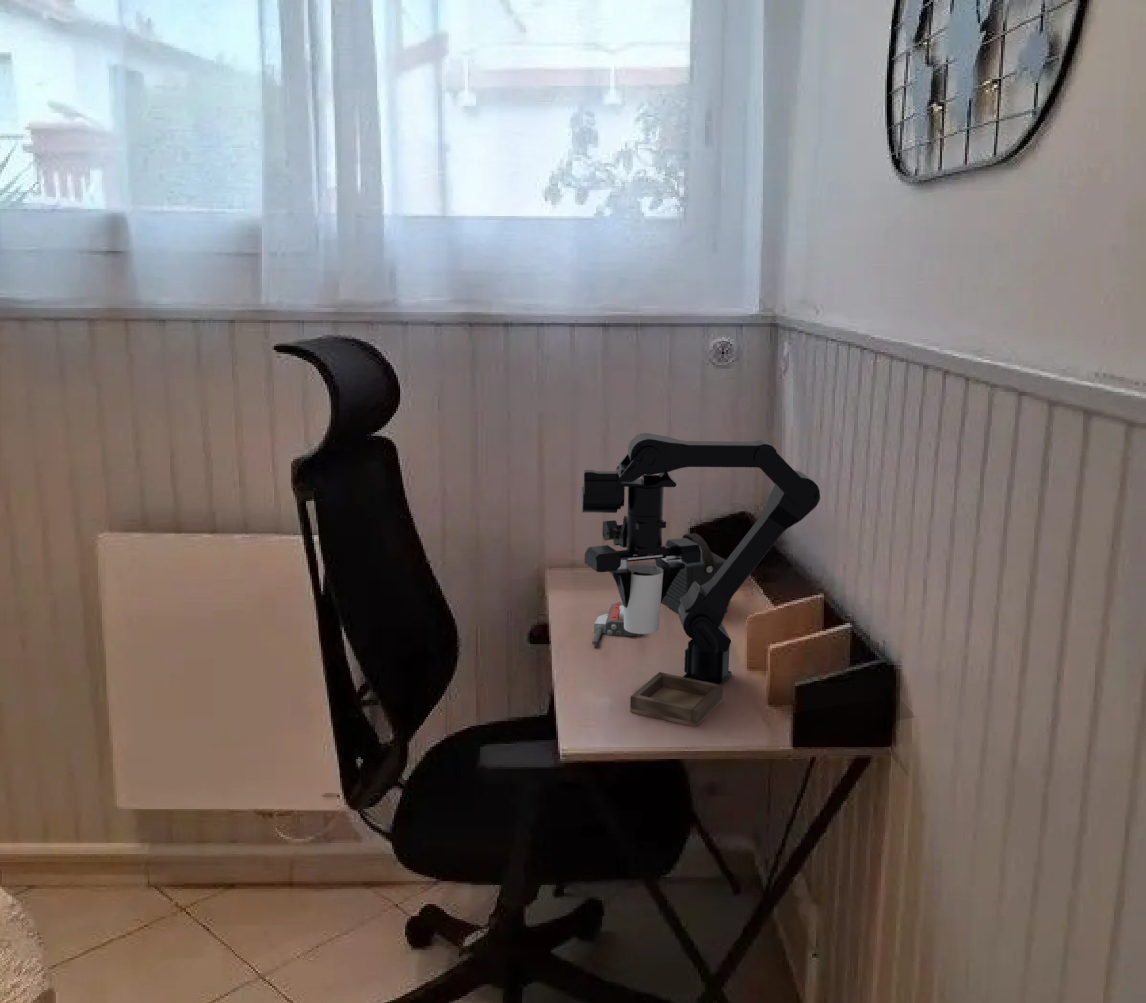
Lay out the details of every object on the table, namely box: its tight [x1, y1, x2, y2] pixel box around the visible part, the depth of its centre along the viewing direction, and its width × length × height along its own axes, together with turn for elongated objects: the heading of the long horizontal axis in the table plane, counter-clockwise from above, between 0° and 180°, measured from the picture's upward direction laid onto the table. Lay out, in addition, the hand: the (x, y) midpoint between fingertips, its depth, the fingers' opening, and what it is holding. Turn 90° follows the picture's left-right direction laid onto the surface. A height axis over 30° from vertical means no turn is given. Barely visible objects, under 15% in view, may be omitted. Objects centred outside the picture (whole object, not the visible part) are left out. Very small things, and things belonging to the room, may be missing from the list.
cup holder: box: [629, 671, 724, 728], centre depth 164 cm, size 11×11×3 cm
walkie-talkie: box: [591, 601, 641, 646], centre depth 197 cm, size 9×4×20 cm
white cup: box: [624, 563, 663, 635], centre depth 172 cm, size 7×7×10 cm
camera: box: [661, 533, 729, 615], centre depth 210 cm, size 11×14×15 cm
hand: (642, 604), depth 172 cm, fingers closed on white cup, 6 cm apart
